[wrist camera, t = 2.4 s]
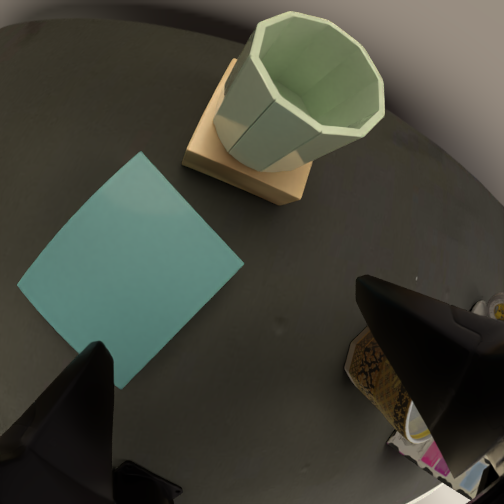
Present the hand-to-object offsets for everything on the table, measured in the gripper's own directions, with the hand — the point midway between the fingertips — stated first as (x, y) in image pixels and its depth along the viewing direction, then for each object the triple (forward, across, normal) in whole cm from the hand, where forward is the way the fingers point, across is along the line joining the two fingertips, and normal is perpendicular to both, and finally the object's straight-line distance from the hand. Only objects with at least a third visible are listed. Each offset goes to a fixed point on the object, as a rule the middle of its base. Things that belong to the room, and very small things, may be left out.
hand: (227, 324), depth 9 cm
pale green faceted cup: (+12, -5, -5) cm, 14 cm away
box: (+10, +7, +2) cm, 12 cm away
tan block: (+15, -4, -4) cm, 16 cm away
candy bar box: (+5, -18, +34) cm, 39 cm away
